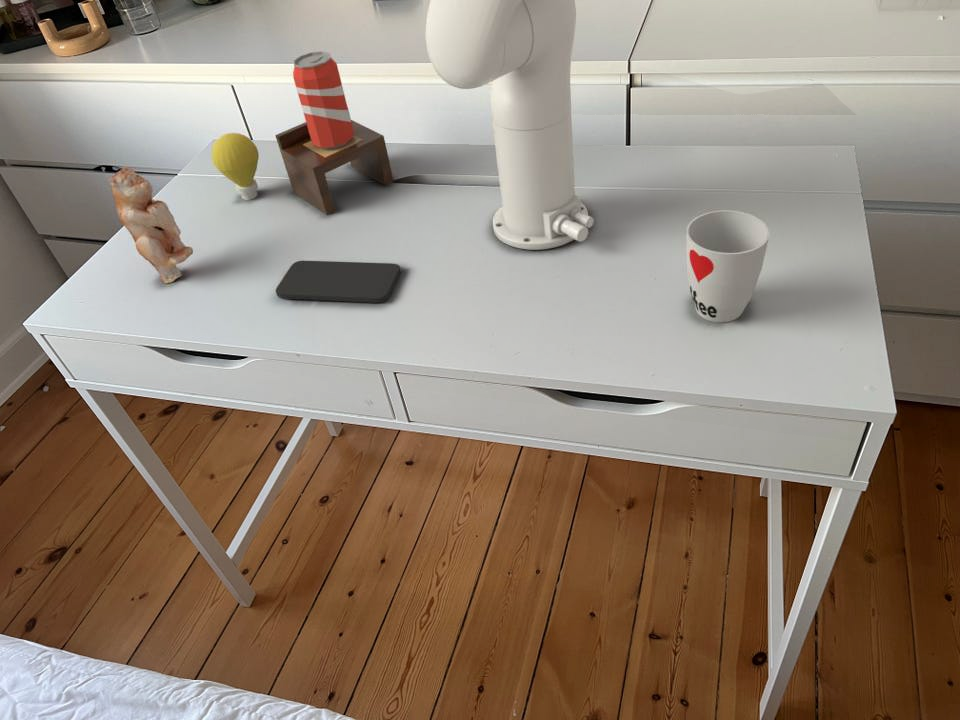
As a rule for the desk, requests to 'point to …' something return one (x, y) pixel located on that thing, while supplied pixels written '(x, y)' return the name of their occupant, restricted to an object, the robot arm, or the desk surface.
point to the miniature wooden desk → (331, 161)
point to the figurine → (149, 223)
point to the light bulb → (237, 162)
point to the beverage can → (322, 100)
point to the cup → (724, 262)
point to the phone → (339, 281)
